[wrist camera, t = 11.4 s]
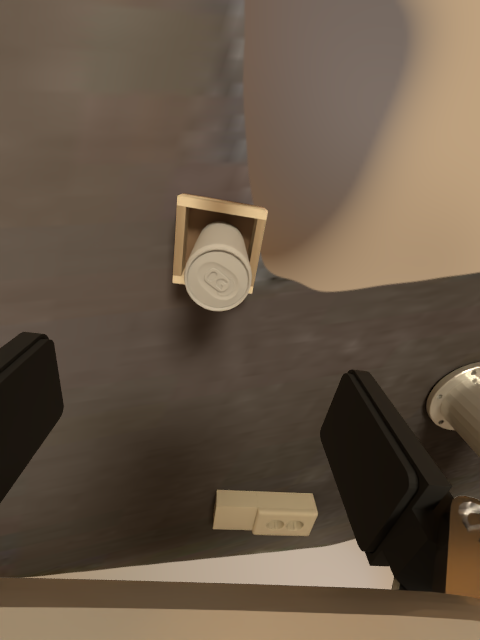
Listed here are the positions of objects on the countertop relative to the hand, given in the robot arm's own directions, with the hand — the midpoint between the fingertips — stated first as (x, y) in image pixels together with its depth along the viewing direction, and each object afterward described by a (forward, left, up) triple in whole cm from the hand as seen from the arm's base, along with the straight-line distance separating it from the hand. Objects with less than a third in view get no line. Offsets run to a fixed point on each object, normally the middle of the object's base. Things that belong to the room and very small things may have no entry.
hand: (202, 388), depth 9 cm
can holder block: (0, 0, -24) cm, 24 cm away
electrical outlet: (-14, +47, -25) cm, 55 cm away
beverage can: (0, 0, -23) cm, 23 cm away
